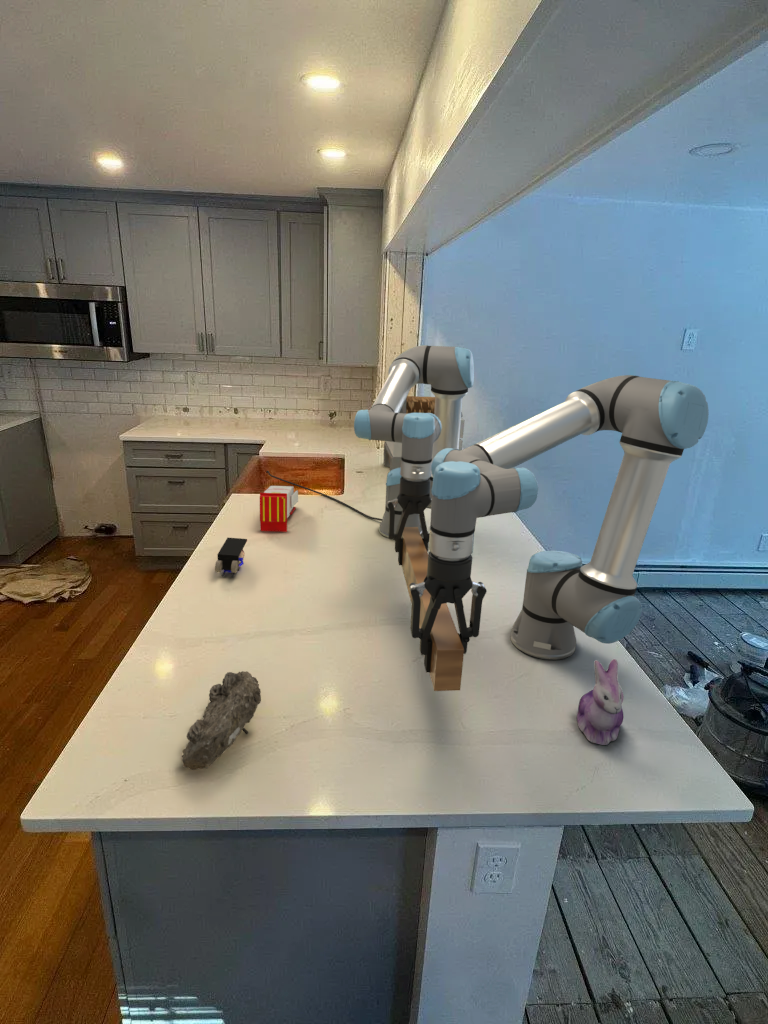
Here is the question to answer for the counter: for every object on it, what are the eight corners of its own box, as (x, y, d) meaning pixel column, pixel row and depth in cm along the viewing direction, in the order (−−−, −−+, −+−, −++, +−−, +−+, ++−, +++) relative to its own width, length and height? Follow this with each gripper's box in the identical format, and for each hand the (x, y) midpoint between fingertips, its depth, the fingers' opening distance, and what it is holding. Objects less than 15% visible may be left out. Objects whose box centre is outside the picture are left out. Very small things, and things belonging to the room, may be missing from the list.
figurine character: (238, 584, 162) (249, 557, 175) (236, 562, 158) (247, 536, 172) (215, 584, 161) (227, 556, 175) (212, 561, 158) (225, 535, 171)
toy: (300, 481, 221) (289, 494, 192) (300, 514, 224) (289, 533, 194) (268, 480, 221) (253, 493, 191) (269, 514, 223) (254, 532, 194)
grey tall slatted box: (382, 463, 289) (386, 382, 275) (445, 464, 293) (451, 384, 279) (390, 482, 257) (394, 392, 243) (460, 483, 261) (468, 394, 247)
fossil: (206, 672, 114) (260, 639, 109) (238, 703, 117) (292, 672, 112) (156, 763, 94) (219, 728, 89) (197, 797, 97) (260, 766, 92)
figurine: (602, 755, 103) (617, 685, 98) (562, 719, 111) (574, 654, 106) (638, 739, 107) (654, 672, 102) (596, 706, 116) (609, 643, 110)
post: (399, 555, 153) (400, 526, 150) (416, 555, 153) (417, 526, 150) (434, 691, 99) (437, 650, 96) (460, 690, 100) (464, 649, 97)
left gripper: (380, 481, 135) (377, 569, 143) (454, 482, 136) (446, 569, 145) (378, 472, 142) (375, 556, 150) (448, 473, 143) (441, 556, 152)
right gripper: (401, 562, 92) (395, 681, 100) (507, 561, 94) (493, 679, 102) (396, 544, 99) (391, 656, 107) (495, 543, 101) (483, 654, 109)
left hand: (410, 562), depth 147 cm, fingers closed on post, 5 cm apart
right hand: (441, 667), depth 105 cm, fingers closed on post, 5 cm apart
